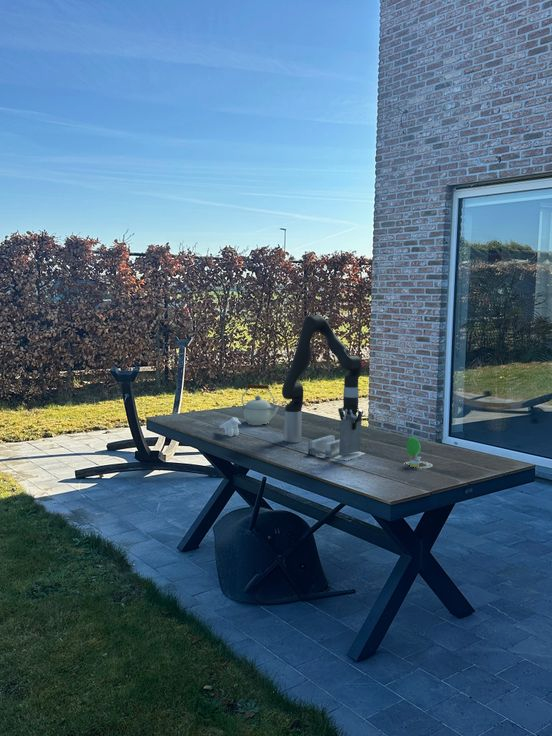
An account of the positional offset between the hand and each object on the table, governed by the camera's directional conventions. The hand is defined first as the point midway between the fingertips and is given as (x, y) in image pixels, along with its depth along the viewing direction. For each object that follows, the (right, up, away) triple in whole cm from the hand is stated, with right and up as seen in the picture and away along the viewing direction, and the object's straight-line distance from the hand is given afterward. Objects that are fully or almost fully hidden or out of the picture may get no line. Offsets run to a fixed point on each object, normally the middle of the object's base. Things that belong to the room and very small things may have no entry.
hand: (350, 429), depth 317 cm
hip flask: (0, -12, +1) cm, 12 cm away
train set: (+31, -16, -13) cm, 38 cm away
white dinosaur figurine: (-65, -9, +50) cm, 82 cm away
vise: (-9, -13, +9) cm, 19 cm away
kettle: (-48, -5, +84) cm, 97 cm away
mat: (0, -14, +1) cm, 14 cm away
